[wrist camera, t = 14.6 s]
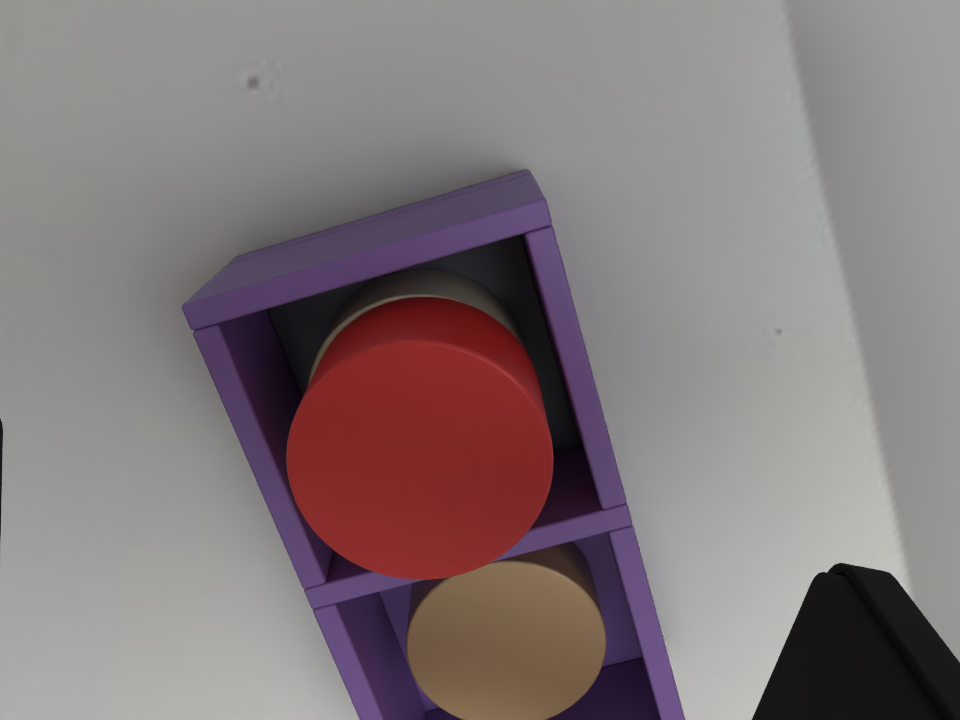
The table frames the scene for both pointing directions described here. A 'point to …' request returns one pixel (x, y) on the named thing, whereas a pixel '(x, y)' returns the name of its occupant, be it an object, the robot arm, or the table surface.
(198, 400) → the table surface
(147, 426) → the table surface
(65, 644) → the table surface
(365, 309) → the cream token
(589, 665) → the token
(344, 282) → the purple two-slot tray
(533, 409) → the cylinder
